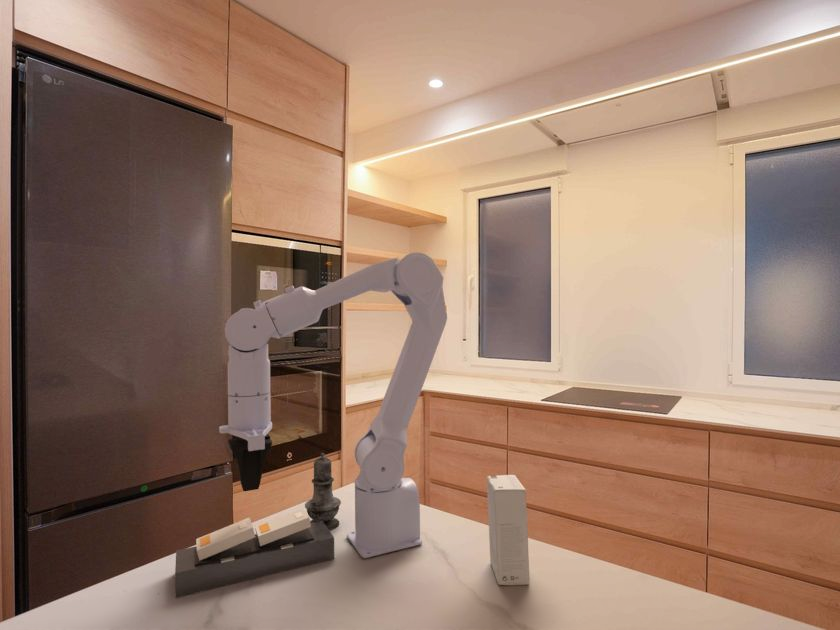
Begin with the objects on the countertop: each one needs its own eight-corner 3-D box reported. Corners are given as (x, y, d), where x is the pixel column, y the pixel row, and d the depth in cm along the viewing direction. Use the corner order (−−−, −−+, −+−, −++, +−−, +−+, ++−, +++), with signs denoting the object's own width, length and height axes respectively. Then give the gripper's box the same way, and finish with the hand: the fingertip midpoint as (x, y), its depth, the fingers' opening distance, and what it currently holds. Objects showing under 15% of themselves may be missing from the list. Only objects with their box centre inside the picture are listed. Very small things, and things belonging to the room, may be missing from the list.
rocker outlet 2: (305, 517, 70) (303, 507, 70) (311, 526, 67) (309, 516, 67) (256, 535, 67) (254, 525, 67) (260, 546, 64) (258, 536, 63)
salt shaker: (333, 534, 74) (332, 458, 74) (298, 531, 76) (297, 456, 76) (346, 518, 80) (345, 448, 80) (314, 516, 81) (313, 446, 81)
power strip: (322, 539, 72) (322, 519, 72) (334, 558, 67) (334, 536, 67) (176, 572, 64) (176, 549, 64) (175, 597, 58) (175, 571, 58)
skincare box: (531, 585, 60) (529, 489, 60) (495, 586, 59) (494, 490, 59) (519, 560, 66) (518, 473, 66) (487, 561, 66) (486, 474, 66)
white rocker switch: (252, 526, 67) (249, 516, 66) (255, 537, 63) (252, 526, 63) (198, 548, 64) (196, 538, 63) (199, 560, 60) (196, 550, 60)
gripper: (216, 389, 72) (217, 478, 72) (222, 404, 59) (223, 512, 59) (264, 385, 75) (265, 470, 75) (280, 399, 62) (281, 502, 62)
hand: (250, 488), depth 67 cm, fingers closed
